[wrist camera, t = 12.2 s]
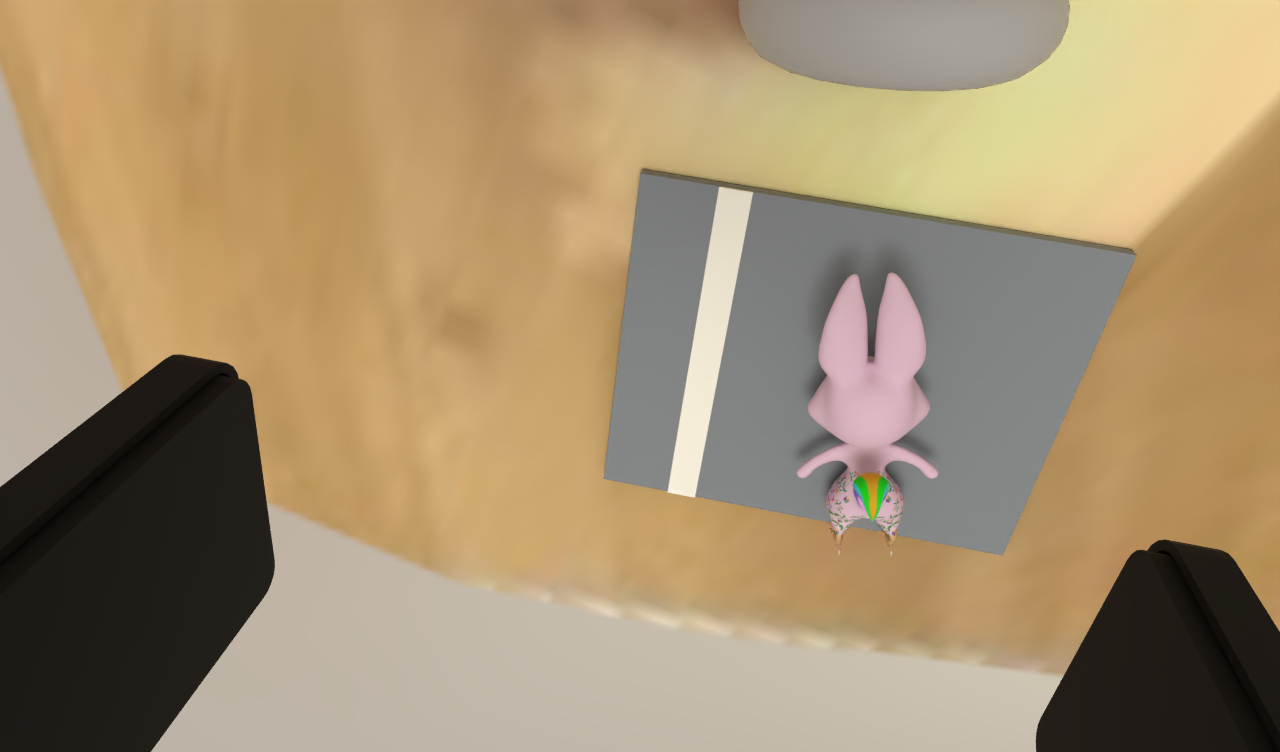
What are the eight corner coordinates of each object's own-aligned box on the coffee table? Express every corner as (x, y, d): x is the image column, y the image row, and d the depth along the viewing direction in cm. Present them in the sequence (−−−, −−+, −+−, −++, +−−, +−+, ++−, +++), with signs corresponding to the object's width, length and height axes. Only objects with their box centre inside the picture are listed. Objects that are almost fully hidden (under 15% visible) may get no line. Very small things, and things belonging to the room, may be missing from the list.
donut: (742, 34, 33) (723, 92, 25) (749, -67, 31) (732, -42, 23) (1015, 47, 32) (1094, 112, 23) (1039, -58, 30) (1133, -29, 22)
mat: (642, 168, 36) (639, 174, 36) (1131, 249, 35) (1137, 256, 34) (606, 471, 45) (603, 480, 44) (1000, 547, 43) (1002, 556, 43)
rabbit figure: (925, 506, 44) (951, 247, 34) (940, 605, 39) (976, 338, 30) (798, 505, 45) (790, 254, 35) (799, 601, 40) (790, 342, 31)
